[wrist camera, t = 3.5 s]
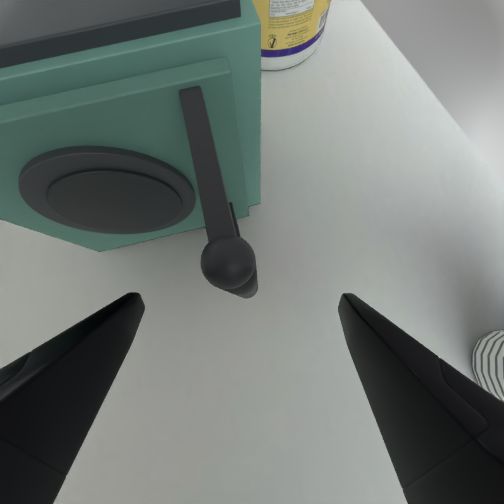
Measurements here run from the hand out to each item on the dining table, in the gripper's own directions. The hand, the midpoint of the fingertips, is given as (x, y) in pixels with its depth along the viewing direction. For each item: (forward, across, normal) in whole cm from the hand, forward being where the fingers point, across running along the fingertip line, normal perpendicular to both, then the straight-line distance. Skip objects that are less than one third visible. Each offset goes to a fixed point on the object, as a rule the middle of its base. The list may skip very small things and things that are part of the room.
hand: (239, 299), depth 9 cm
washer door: (+8, +6, +4) cm, 10 cm away
